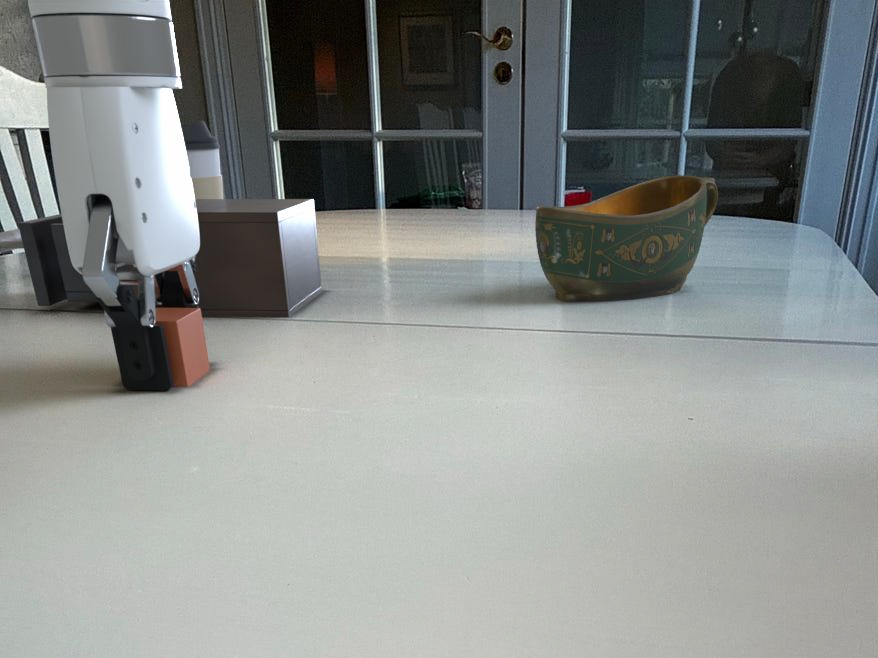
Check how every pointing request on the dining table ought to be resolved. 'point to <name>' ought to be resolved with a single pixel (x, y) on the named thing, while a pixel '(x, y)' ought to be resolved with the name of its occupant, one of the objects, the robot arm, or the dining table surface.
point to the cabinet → (255, 257)
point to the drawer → (49, 261)
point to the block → (184, 343)
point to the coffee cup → (203, 160)
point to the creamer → (626, 240)
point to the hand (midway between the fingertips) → (167, 373)
